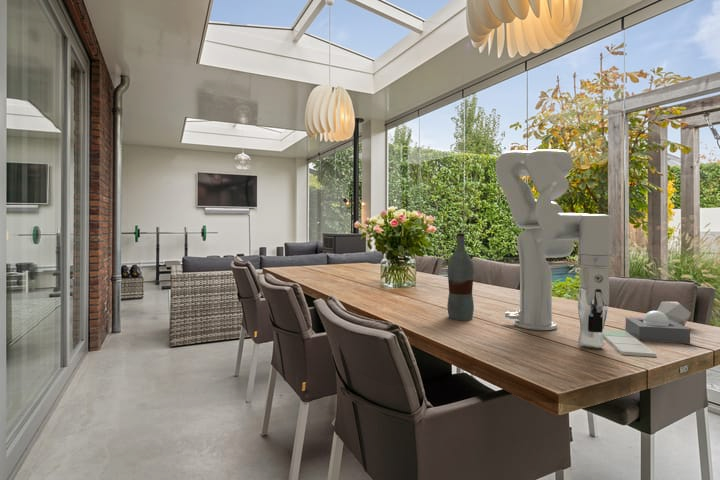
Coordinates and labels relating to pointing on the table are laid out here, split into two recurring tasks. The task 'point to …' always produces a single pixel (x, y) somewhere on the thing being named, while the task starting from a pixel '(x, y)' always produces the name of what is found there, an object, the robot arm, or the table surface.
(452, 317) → the bottle
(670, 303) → the die
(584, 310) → the beer glass
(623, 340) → the coaster
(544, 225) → the robot arm
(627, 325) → the box
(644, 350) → the coaster
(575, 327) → the table surface
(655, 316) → the dome
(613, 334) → the coaster
